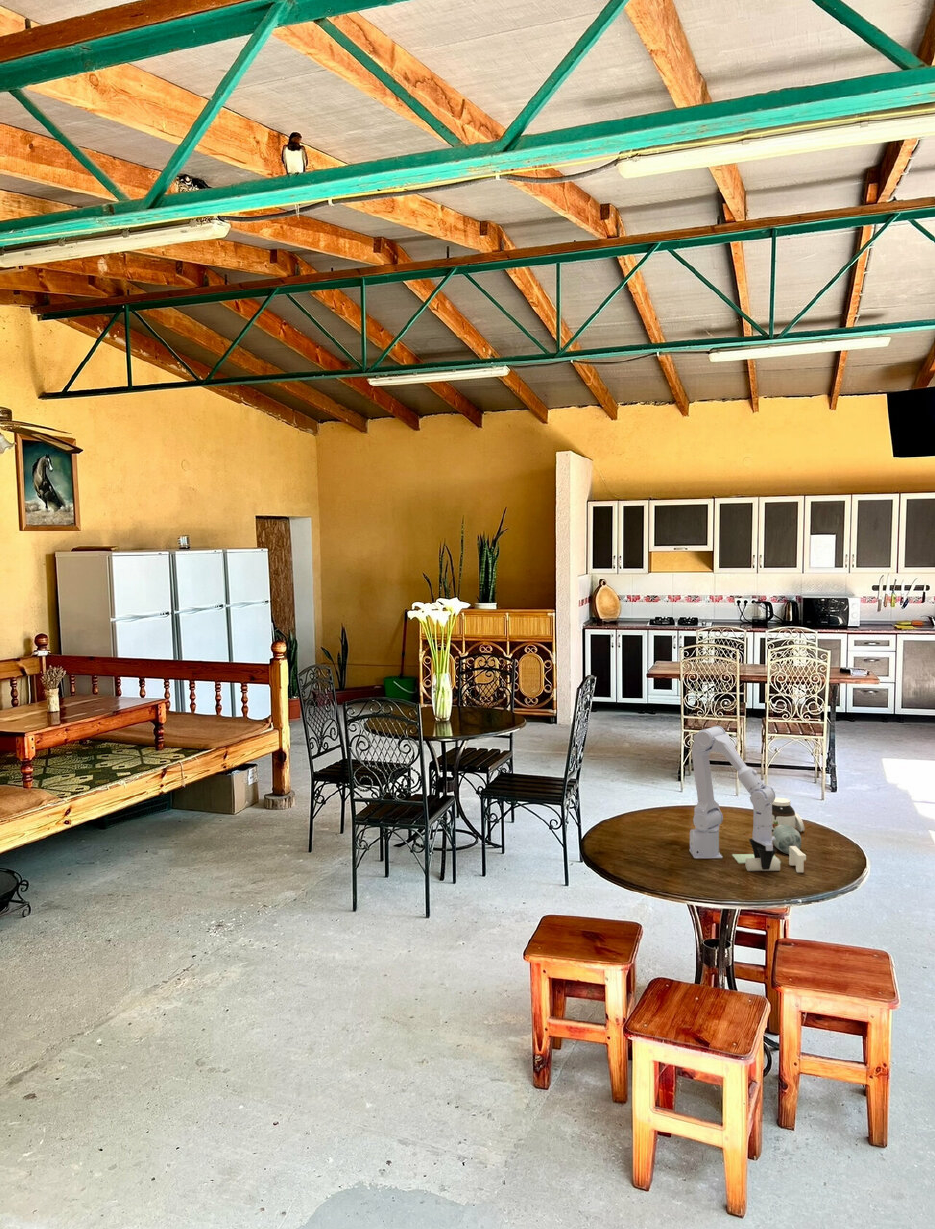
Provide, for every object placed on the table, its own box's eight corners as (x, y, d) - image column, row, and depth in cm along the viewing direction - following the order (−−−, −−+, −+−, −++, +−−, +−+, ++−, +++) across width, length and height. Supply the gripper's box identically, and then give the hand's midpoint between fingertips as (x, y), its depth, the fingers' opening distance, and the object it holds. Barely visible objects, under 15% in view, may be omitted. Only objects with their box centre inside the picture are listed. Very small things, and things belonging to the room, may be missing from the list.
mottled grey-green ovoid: (809, 849, 291) (794, 821, 294) (783, 861, 293) (768, 833, 295) (804, 845, 304) (790, 819, 307) (779, 857, 306) (765, 830, 308)
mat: (738, 863, 288) (738, 862, 288) (731, 855, 296) (731, 854, 296) (781, 863, 288) (781, 862, 288) (773, 854, 296) (773, 853, 296)
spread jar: (762, 828, 324) (762, 798, 323) (783, 824, 329) (784, 793, 328) (787, 837, 313) (788, 806, 312) (809, 832, 318) (810, 801, 317)
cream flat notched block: (798, 874, 277) (798, 855, 276) (788, 864, 286) (788, 846, 285) (805, 874, 277) (806, 855, 276) (795, 864, 286) (796, 846, 285)
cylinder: (748, 873, 281) (749, 862, 280) (744, 866, 284) (745, 855, 283) (779, 873, 280) (780, 862, 279) (775, 866, 284) (776, 855, 283)
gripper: (782, 831, 274) (782, 873, 275) (767, 817, 289) (767, 857, 289) (760, 831, 274) (759, 873, 275) (746, 817, 289) (746, 857, 290)
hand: (762, 865), depth 282 cm, fingers open, 6 cm apart
